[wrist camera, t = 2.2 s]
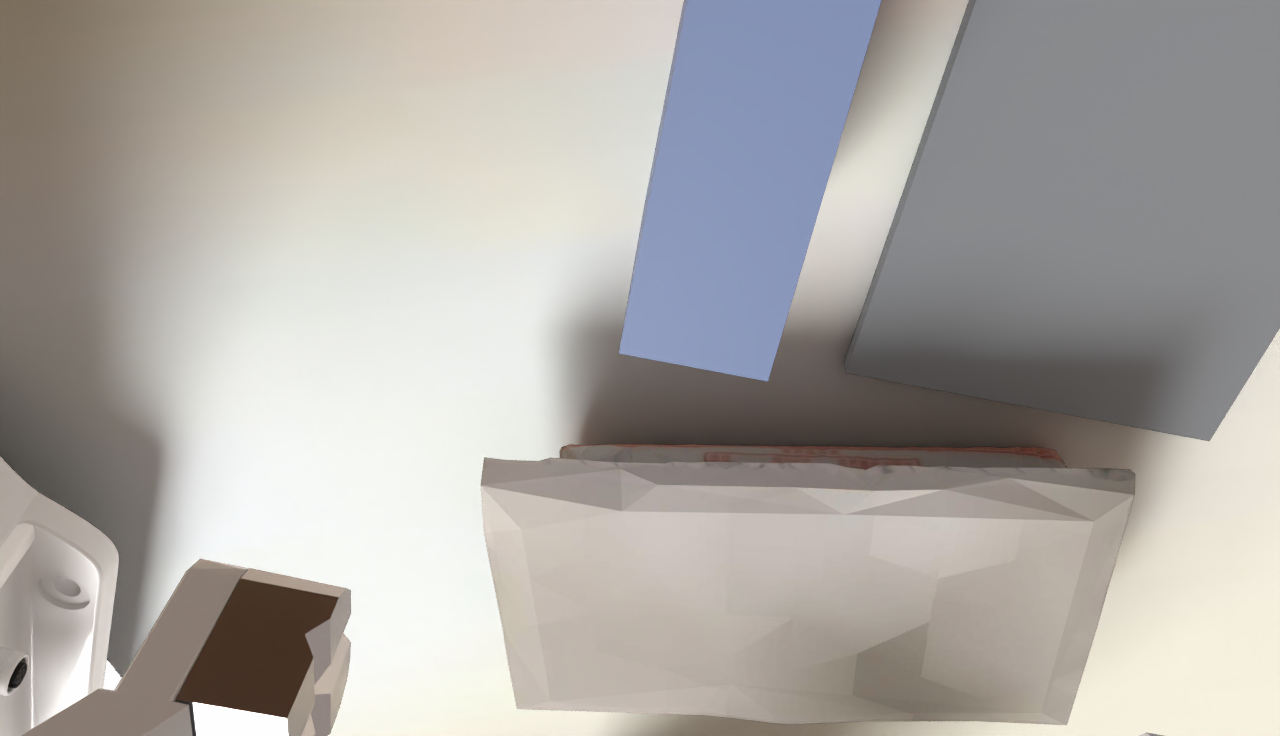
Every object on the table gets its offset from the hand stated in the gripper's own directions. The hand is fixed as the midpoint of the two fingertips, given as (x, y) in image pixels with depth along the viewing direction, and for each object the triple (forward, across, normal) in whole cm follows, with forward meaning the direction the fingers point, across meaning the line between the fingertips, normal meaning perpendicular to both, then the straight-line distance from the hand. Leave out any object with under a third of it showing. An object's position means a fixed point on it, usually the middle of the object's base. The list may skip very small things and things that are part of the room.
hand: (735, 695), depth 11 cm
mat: (+19, -10, 0) cm, 22 cm away
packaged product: (+17, -6, +20) cm, 26 cm away
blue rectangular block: (+20, 0, 0) cm, 20 cm away
